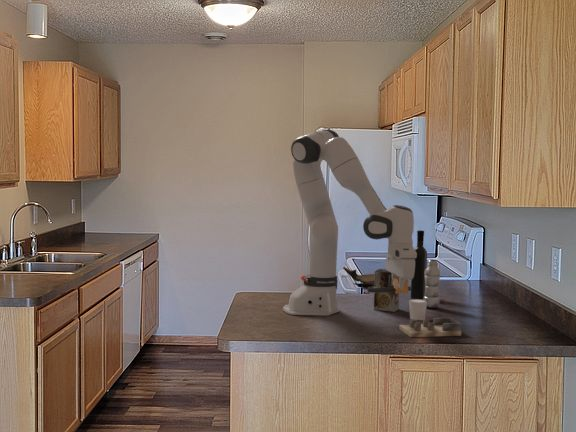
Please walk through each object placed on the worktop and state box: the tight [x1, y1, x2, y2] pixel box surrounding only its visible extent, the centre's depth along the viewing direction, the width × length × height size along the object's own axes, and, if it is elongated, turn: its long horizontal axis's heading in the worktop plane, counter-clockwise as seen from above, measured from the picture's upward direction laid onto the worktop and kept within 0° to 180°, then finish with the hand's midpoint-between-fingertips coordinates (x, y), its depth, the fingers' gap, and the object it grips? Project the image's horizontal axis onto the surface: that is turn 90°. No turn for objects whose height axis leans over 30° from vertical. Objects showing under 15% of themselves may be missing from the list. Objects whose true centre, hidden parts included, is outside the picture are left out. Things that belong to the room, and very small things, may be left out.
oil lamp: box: [343, 266, 375, 288], centre depth 327 cm, size 22×30×8 cm
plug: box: [367, 278, 409, 295], centre depth 248 cm, size 15×4×5 cm, turn 102°
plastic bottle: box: [422, 259, 441, 309], centre depth 280 cm, size 6×7×20 cm
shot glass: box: [408, 298, 427, 321], centre depth 261 cm, size 7×7×7 cm
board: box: [398, 317, 462, 338], centre depth 241 cm, size 20×11×4 cm, turn 101°
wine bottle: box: [410, 229, 428, 300], centre depth 299 cm, size 6×6×30 cm
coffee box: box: [373, 268, 400, 313], centre depth 275 cm, size 9×6×16 cm
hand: (398, 287), depth 249 cm, fingers closed on plug, 4 cm apart
